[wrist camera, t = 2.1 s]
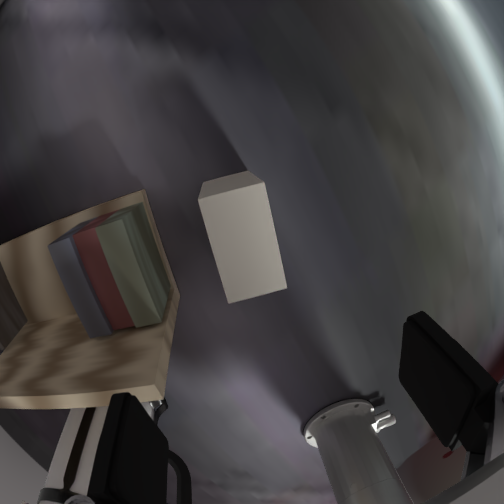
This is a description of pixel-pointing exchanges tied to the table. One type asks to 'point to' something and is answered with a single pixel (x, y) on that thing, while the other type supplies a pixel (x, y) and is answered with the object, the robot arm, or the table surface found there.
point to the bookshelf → (86, 309)
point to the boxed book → (242, 235)
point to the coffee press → (83, 454)
